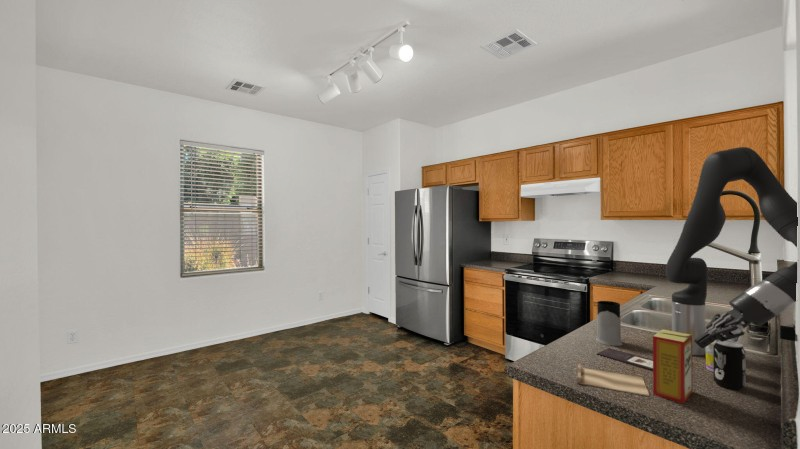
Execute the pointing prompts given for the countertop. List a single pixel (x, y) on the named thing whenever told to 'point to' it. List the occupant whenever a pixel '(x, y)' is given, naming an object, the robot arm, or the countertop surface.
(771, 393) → the countertop surface
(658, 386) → the baking soda box
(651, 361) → the chocolate bar
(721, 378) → the beverage can
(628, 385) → the wooden board
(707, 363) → the supplement bottle
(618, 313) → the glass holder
